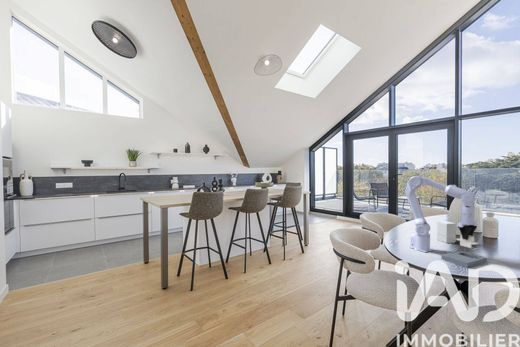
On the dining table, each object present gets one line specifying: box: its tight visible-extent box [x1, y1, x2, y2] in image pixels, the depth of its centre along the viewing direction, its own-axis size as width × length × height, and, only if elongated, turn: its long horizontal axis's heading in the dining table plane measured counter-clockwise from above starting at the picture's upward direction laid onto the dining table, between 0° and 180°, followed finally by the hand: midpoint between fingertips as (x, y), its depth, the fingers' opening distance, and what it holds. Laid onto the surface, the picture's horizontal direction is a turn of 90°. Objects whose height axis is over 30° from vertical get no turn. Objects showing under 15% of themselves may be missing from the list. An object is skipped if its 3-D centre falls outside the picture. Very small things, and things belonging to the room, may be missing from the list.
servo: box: [456, 234, 479, 249], centre depth 135 cm, size 9×3×6 cm, turn 25°
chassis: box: [441, 250, 488, 269], centre depth 131 cm, size 12×17×2 cm
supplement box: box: [436, 220, 457, 244], centre depth 164 cm, size 7×7×13 cm
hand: (467, 238), depth 135 cm, fingers closed on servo, 3 cm apart
